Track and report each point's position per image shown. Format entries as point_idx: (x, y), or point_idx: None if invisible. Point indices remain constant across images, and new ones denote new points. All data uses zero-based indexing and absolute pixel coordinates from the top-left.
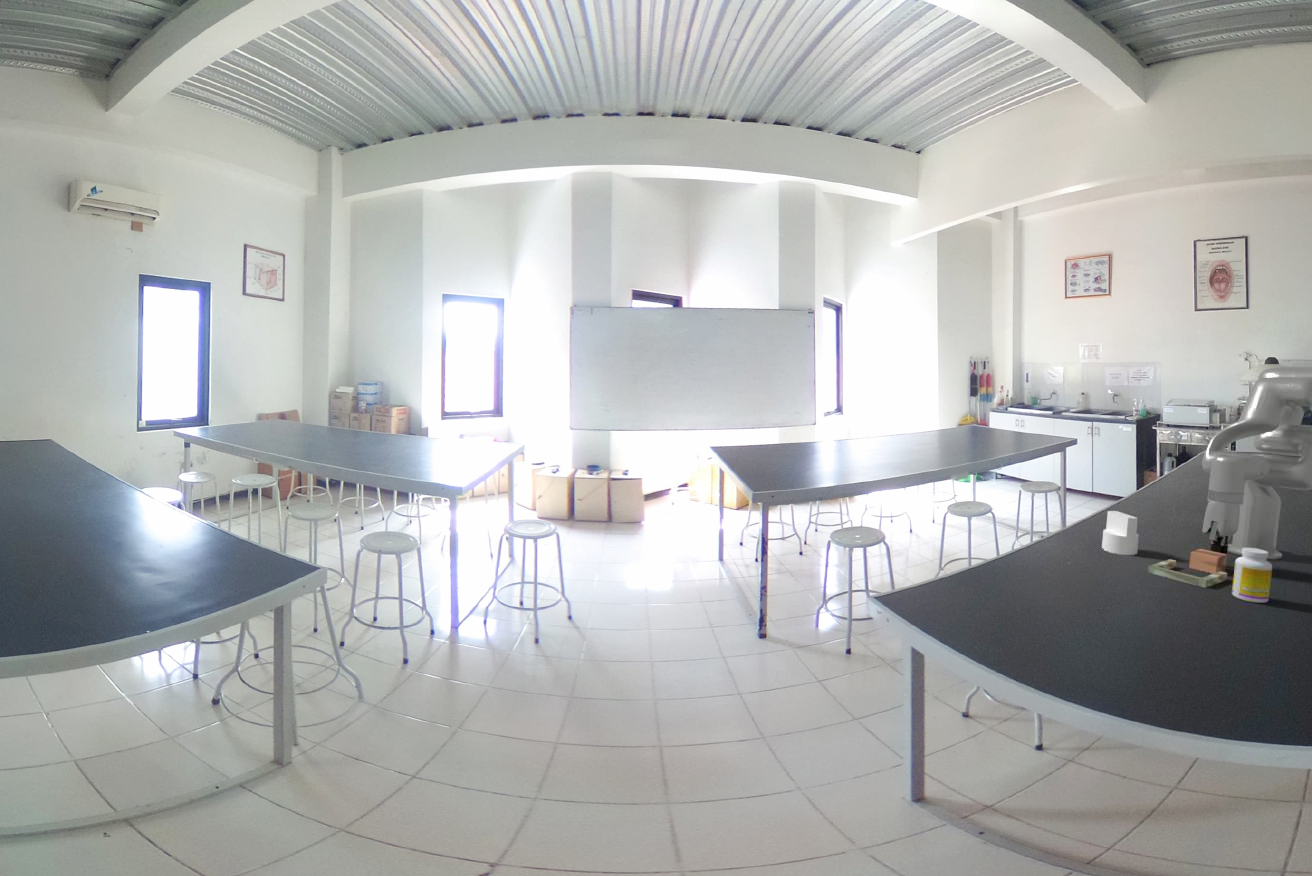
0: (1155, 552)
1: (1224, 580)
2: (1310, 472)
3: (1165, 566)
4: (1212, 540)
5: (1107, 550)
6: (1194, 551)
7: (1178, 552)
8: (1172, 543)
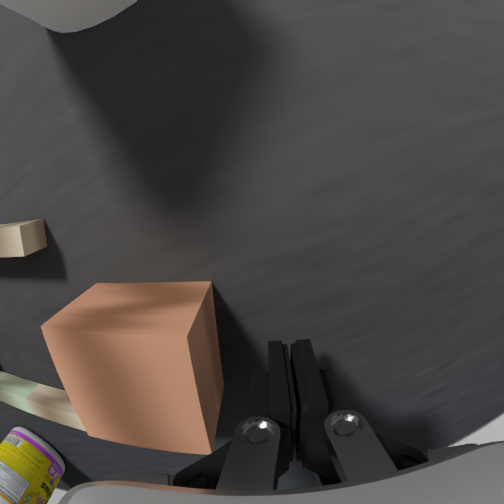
0: (238, 26)
1: None
2: None
3: None
4: (190, 466)
5: None
6: (70, 336)
7: (381, 95)
8: (498, 43)
